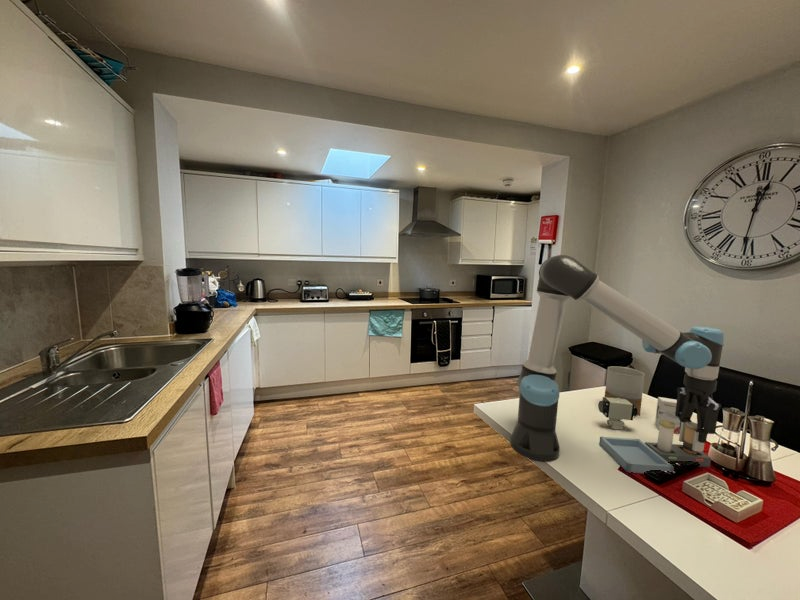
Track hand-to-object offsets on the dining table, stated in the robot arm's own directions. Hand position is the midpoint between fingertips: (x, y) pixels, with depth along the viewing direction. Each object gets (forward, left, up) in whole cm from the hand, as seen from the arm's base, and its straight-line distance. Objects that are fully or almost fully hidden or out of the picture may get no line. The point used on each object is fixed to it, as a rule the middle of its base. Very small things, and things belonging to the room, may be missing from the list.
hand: (690, 445), depth 102 cm
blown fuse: (0, 0, -5) cm, 5 cm away
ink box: (+9, +20, -5) cm, 22 cm away
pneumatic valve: (-12, +19, -5) cm, 23 cm away
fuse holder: (-4, 0, -5) cm, 6 cm away
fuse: (-8, 0, -5) cm, 9 cm away
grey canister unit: (0, +35, -5) cm, 35 cm away
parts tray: (-19, -2, -5) cm, 19 cm away
